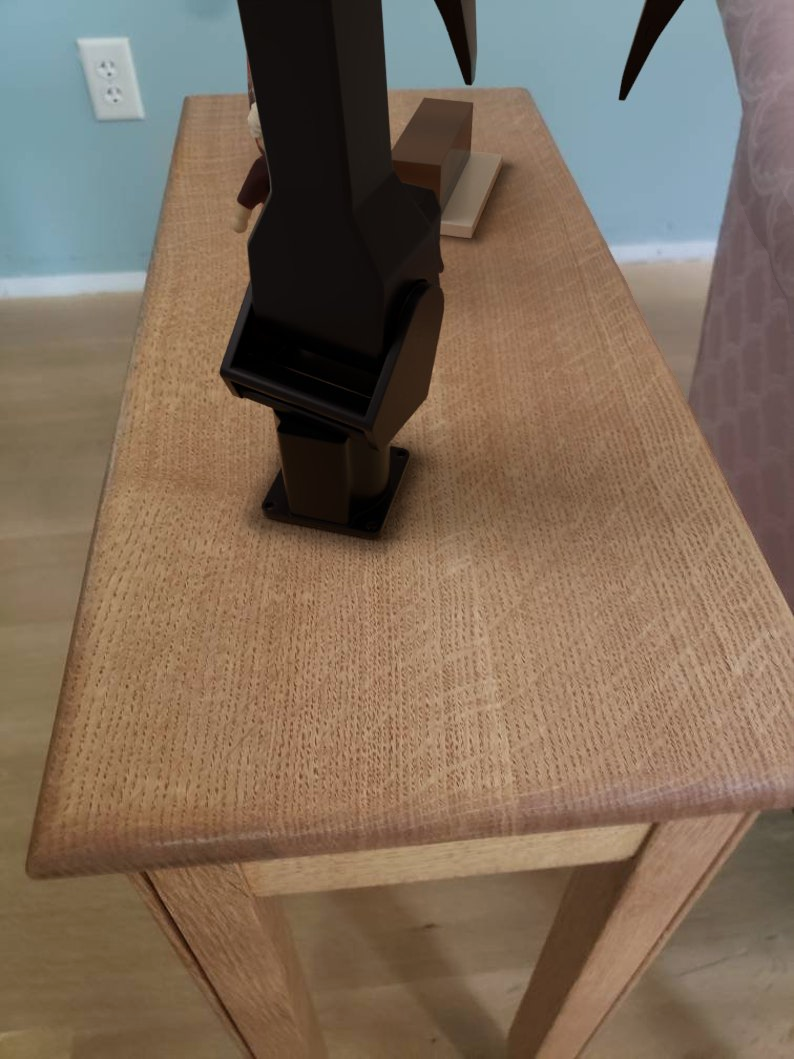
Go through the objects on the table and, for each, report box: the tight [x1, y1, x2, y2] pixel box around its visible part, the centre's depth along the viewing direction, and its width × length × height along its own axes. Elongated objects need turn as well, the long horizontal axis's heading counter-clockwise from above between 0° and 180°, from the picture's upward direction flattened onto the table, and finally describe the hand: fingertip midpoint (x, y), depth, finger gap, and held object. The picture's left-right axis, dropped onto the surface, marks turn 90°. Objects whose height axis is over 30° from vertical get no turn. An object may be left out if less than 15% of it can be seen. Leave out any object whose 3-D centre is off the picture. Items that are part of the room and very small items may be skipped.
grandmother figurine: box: [231, 102, 270, 234], centre depth 55 cm, size 8×4×13 cm, turn 143°
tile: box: [440, 150, 504, 239], centre depth 67 cm, size 12×9×1 cm
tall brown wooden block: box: [391, 97, 474, 216], centre depth 65 cm, size 11×4×4 cm, turn 165°
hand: (544, 90), depth 51 cm, fingers open, 9 cm apart
